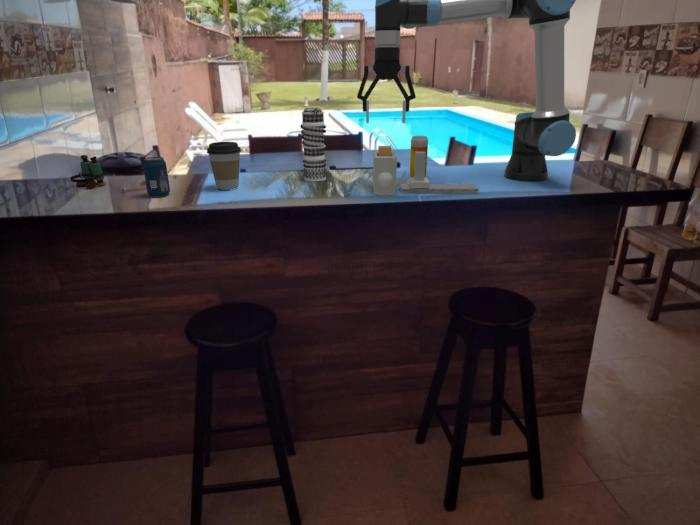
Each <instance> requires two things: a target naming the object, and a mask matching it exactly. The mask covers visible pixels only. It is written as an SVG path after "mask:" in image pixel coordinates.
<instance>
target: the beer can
mask: <svg viewBox="0 0 700 525" xmlns="http://www.w3.org/2000/svg"><path fill="white" fill-rule="evenodd" d="M428 148H429V138H428V136H426V135H412V137H411V138H410V157H409V159H410V160H409V161H410V162H409V178H414V171H415V152H425V153H426V157H425V177H424V178H427V171H428V170H427V166H428V150H429V149H428Z"/></svg>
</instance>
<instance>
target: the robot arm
mask: <svg viewBox="0 0 700 525" xmlns="http://www.w3.org/2000/svg"><path fill="white" fill-rule="evenodd" d="M575 3H576V0H375V3H374V4H375V5H374V12H375V13H374V19H375V20H374V22H375V23H374V25H375V26H374V28H375V29H374V45H375V46H376V47H375V49H374V62H373V65H364V68H363V69H364V71H363V72H364V73H363V77H362V79H361V83H360V86H359V89H358V92H357V96H356V98H357V99H358V100H361V101H362V111H363V113H366V114H365V119H366V120H365V121H366V124H369V123H370V111H369V110H370V101H369V100H368V99H369V97H370V95H371V93H372V92H373V90H374V89H375V87H376V86H377V84H378V82H379V81H380V80H381V81H385V80H389V81H392V80H393V81H394V83H395V84H396V85H397V87H398V89H399V90H400V93H401V94H402V97H403V98H404V100H402V110H401V111H402V112H401V113H402V114H401V115H402V118H401V121H402V122H401V123H402V124H405V123H406V115H407V114H406V113H409V111H410V104H411V103H410V102H411V101H412V100H414V99H416V97H417V96H416V93H415V89H414V86H413V82H412V79H411V75H410V69H411V68H410V65H401V63H400V54H401V52H400V51H401V50H400V47H399V46H400V45H401V27H402V28H404V29H407V30H409V29H414V28H419V27H420V28H421V27H426V26H428V27H430V26H436V25H441V24H442V25H443V24H450V23H451V24H452V23H458V22H459V23H460V22H466V21H472V20H473V21H474V20H482V19H488V18H495V17H501V18H502V19H504V20H507V19H528V26H529V28H531V30H533V32H534V70H535V75H534V76H535V111H533V112H520V113H518V114H517V115H516V117H515V121H514V128H513V129H514V130H513V139H512V148H511V156H510V158H509V160H508V162H507V165H506V167H505V169H504V177H505V178H507V179H511V180H516V181H524V182H525V181H526V182H538V181H539V182H540V181H545V180H547V179H548V175H549V171H548V166H547V161H546V160H547V159H546V156H548V157H559V156H562V155H564V154H566V153H567V152H568V151H569V150H570V148H572V147H573V145H574V143H575V141H576V137H577V132H576V127H575V126H574V125H573V124H572V122H571V121H570V110H569V109H568V108H566V106H565V26H566V24H567V23H568V22H569V21H570V20H571V9H572V7H573V6H574V5H575ZM372 70H373V72H374V73H375V74H376V75H375V77H374V79H373V80H372V82H371V84H370V85H369V87H368V89H367V90H366V92H365V94H363V92H364V89H365V86H366V83H367V80H368V76H369V74H370V73H371V72H372ZM400 71H402V73H403V74H404V76H405V80H406V83H407V87H408V91H409V94H408V92H407V91H406V89H405V87H404V86H403V84H402V82H401V80H400V79H399V76H398V73H400Z"/></svg>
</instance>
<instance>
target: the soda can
mask: <svg viewBox="0 0 700 525" xmlns="http://www.w3.org/2000/svg"><path fill="white" fill-rule="evenodd" d="M143 160H144V161H143V164H142V166H143V173H144V180H145V186H146V192H147V194H148V195H149V197H150V196H151V197H150V198H155V197H158V198H164V197H167V196H169V194H170V192H171V188H170V182H169V176H168V169H167V163H166V161H165V159H164V157H163V156H162V157H161V156H151V157H150V156H149V157H145V158H144V159H143Z"/></svg>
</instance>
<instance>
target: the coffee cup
mask: <svg viewBox="0 0 700 525" xmlns="http://www.w3.org/2000/svg"><path fill="white" fill-rule="evenodd" d="M241 152H242V149H241V147H240V146H239V145H238V142H235V141H217V142H211V143H209V145H208V148H207V149H206V154H208V156H209V158H208V159H209V161H210V165H211V170H212V173H213V175H212V176H213V178H214V182H215V187H216V189H217V188H218V189H221V190H220V191H230V190H229V189H234V188H237V187H238V188H239V185H240V159H241V158H240V154H241ZM238 188H237V189H238ZM218 189H217V190H218ZM234 190H235V189H234Z"/></svg>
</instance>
